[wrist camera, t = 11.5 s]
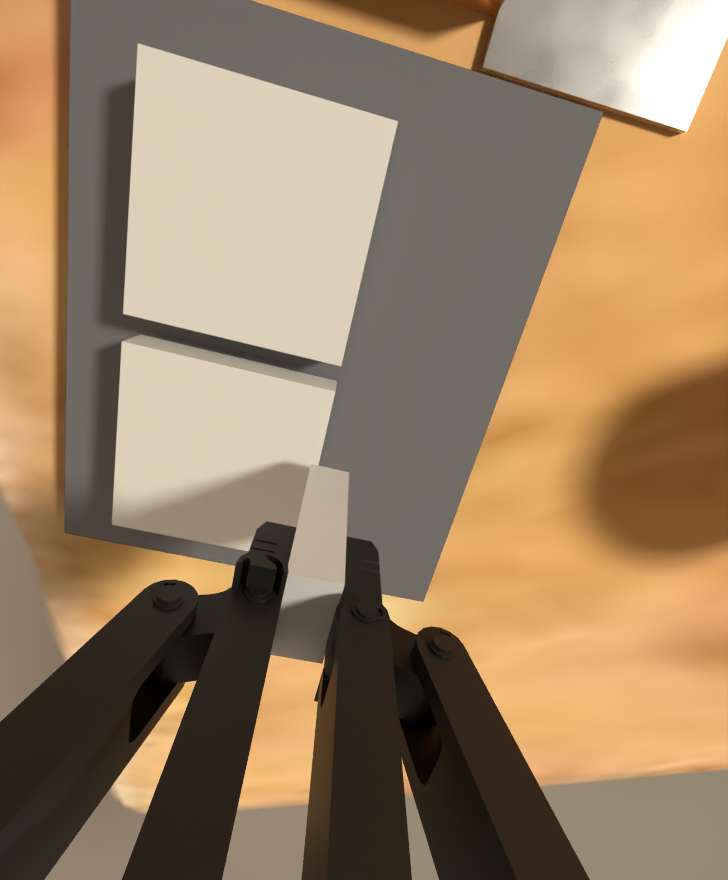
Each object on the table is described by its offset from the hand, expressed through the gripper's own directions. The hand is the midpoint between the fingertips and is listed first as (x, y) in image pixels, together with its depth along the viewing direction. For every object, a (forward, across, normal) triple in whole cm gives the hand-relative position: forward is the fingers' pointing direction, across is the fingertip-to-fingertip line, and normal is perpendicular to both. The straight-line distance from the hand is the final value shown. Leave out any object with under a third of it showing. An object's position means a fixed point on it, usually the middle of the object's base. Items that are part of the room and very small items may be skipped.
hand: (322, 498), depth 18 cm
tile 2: (+2, 0, 0) cm, 2 cm away
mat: (+4, -2, +4) cm, 7 cm away
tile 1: (+2, 0, +9) cm, 9 cm away
